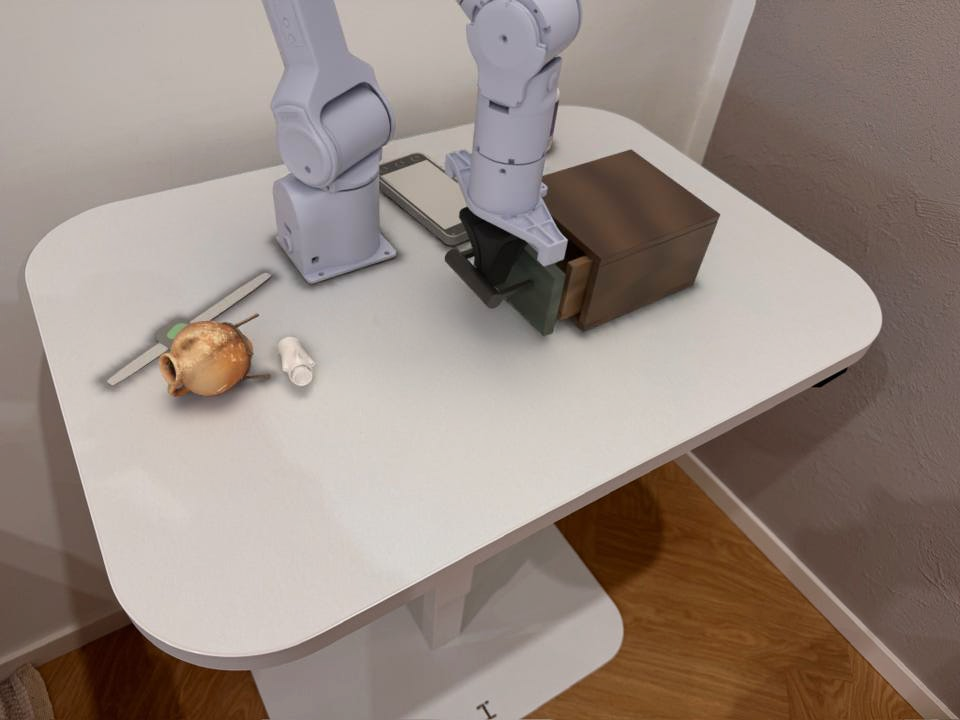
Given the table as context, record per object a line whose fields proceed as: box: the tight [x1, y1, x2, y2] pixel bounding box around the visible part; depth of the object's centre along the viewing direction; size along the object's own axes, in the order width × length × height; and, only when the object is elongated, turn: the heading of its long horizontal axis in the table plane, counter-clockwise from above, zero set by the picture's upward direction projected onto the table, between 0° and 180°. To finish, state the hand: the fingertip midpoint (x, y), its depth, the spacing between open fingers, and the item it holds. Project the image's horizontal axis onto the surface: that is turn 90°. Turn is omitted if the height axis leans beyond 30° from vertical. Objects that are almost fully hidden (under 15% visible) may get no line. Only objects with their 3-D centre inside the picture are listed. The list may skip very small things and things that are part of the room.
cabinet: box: [542, 149, 721, 333], centre depth 72 cm, size 15×13×9 cm
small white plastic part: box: [277, 336, 316, 387], centre depth 61 cm, size 4×6×3 cm, turn 179°
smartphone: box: [379, 151, 469, 246], centre depth 81 cm, size 7×1×15 cm
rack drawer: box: [444, 230, 594, 337], centre depth 69 cm, size 18×11×7 cm, turn 124°
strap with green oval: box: [106, 272, 272, 386], centre depth 65 cm, size 18×1×3 cm
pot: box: [158, 312, 272, 398], centre depth 59 cm, size 6×8×6 cm
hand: (491, 281), depth 67 cm, fingers closed, pressing on rack drawer
